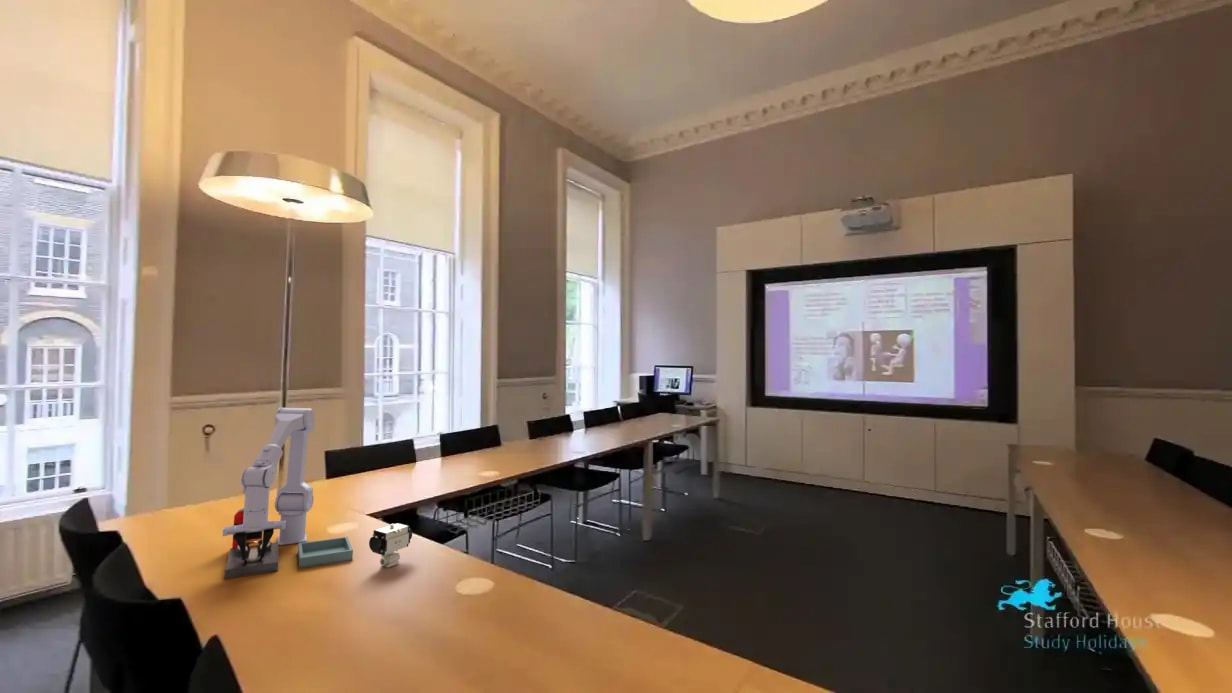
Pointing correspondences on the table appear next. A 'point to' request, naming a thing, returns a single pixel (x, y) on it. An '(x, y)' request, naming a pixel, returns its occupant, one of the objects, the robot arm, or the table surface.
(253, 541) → the lock pin
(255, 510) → the robot arm
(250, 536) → the soda can
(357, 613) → the table surface
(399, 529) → the pneumatic valve
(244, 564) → the bracket
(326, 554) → the tray
